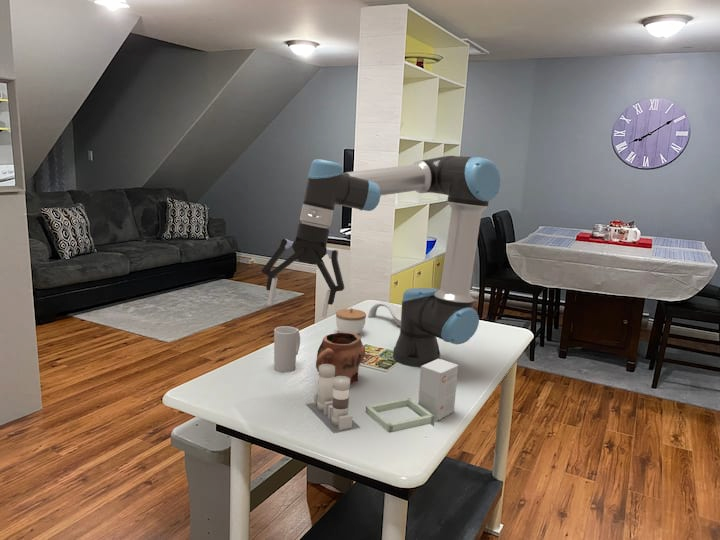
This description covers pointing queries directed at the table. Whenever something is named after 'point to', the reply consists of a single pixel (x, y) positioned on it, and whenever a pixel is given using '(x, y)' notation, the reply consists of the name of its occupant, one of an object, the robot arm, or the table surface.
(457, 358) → the table surface
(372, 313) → the grey curved piece
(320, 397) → the holder
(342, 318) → the lidded jar
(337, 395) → the light bulb
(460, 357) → the table surface
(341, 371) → the decorative planter
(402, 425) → the parts tray
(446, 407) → the small box
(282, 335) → the mug
